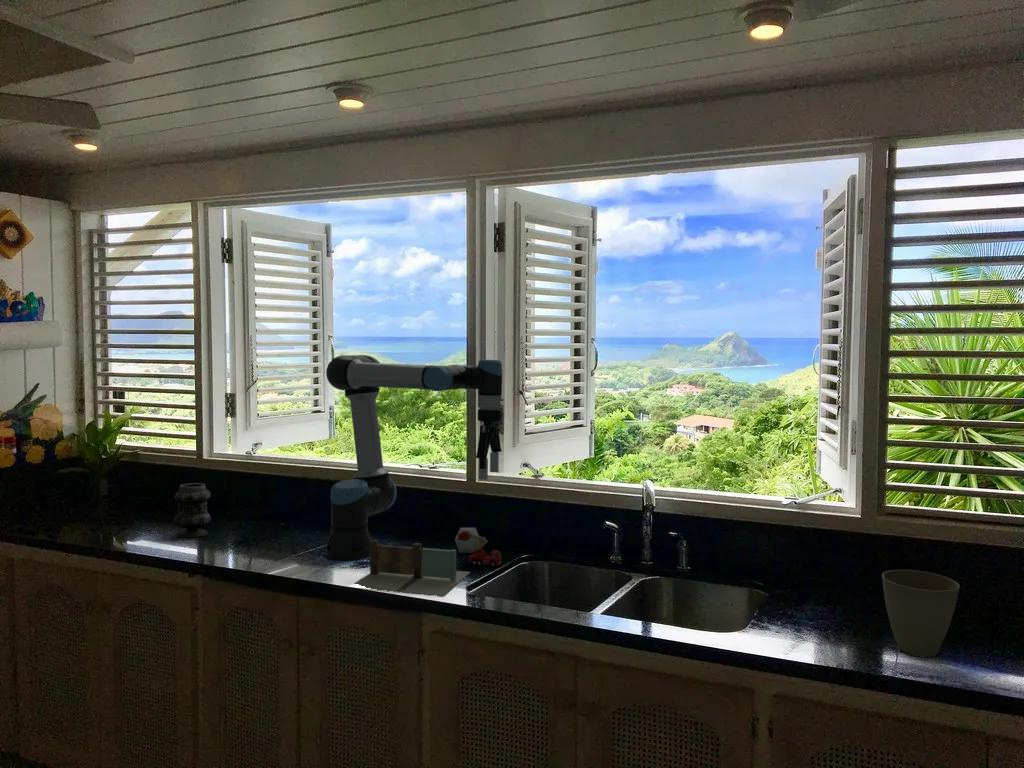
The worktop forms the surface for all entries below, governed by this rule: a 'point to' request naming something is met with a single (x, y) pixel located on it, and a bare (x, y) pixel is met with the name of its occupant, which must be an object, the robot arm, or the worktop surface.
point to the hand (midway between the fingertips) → (488, 475)
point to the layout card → (411, 583)
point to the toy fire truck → (480, 555)
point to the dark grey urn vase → (192, 509)
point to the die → (467, 541)
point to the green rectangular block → (439, 563)
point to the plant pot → (919, 609)
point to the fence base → (396, 559)
